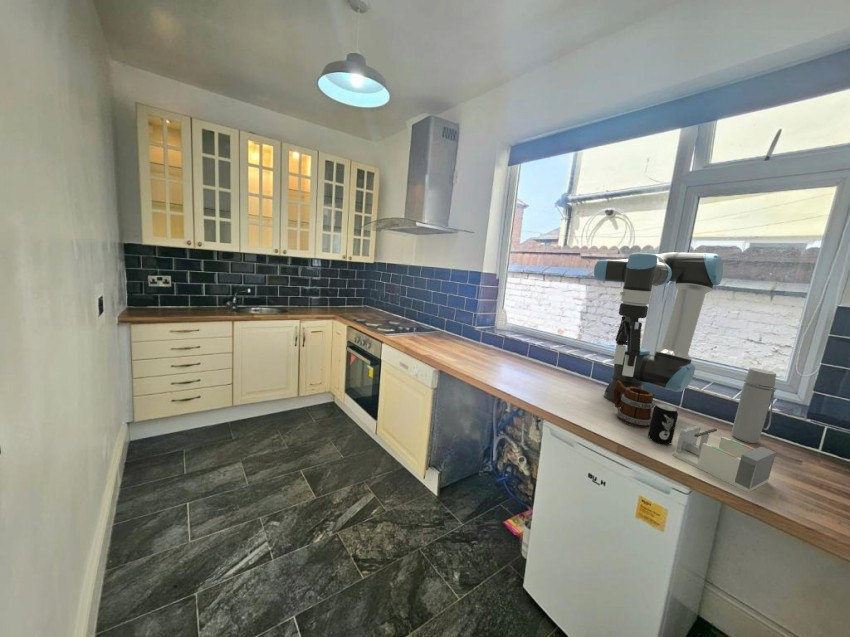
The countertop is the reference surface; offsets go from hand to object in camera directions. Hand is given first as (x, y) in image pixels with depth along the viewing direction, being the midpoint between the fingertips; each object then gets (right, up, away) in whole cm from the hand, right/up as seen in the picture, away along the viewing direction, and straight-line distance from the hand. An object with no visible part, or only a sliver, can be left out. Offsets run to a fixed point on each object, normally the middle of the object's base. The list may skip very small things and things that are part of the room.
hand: (622, 369), depth 108 cm
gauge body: (+22, -27, -10) cm, 36 cm away
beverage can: (+14, -24, +4) cm, 29 cm away
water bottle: (+50, -26, +10) cm, 57 cm away
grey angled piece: (+19, -25, -6) cm, 32 cm away
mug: (+13, -22, +19) cm, 32 cm away
